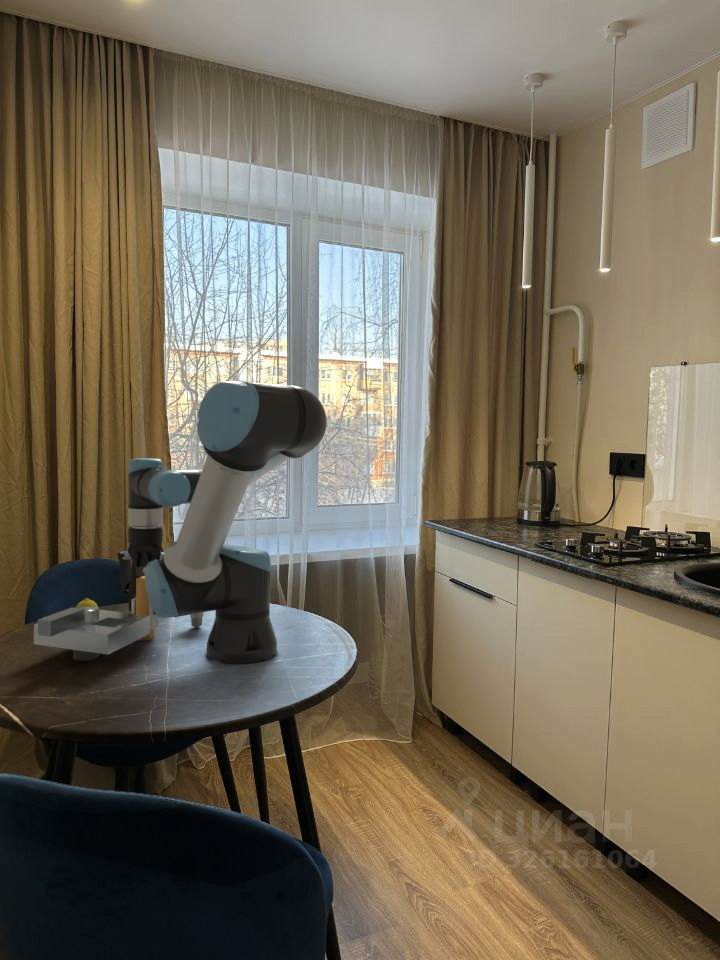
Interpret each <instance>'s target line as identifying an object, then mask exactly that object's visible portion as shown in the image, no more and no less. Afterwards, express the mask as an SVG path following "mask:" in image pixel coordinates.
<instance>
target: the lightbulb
mask: <svg viewBox="0 0 720 960" xmlns="http://www.w3.org/2000/svg"><path fill="white" fill-rule="evenodd" d="M204 613H205V612H202V613H196V614H191V615H189V617H190V624H191V626H192V627H193V628H194V629H199V628H200V627H201V626H203V625H202V624H203V618H204Z"/></svg>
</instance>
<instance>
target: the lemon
mask: <svg viewBox="0 0 720 960" xmlns="http://www.w3.org/2000/svg"><path fill="white" fill-rule="evenodd" d="M81 607H97V608H99V606H98V604H97V602H95V601H94V600H92V599H89V598H88V597H87V598H84V599H83V600H82V601H79V602H78V603H77V605H76V606H75V608H81Z"/></svg>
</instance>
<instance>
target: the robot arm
mask: <svg viewBox="0 0 720 960" xmlns="http://www.w3.org/2000/svg"><path fill="white" fill-rule="evenodd" d="M326 413H327V412H326V410H325V409H324V405H323V403H322V402H321V401H320V400H319V398H318V397H317V396H316V395H315V393H313V392H311V391H310V390H308V389H306V388H304V387H300V386H296V385H290V384H287V385H286V384H273V383H272V384H269V383H259V382H258V383H256V382H249V381H247V380H235V381H221V382H218V383H216V384H214V385H212V386H211V387H210V388H209V389H208V390H207V391H206V393H205V394H204V396H203V397H202V400H201V402H200V405H199V408H198V412H197V418H198V422H196V423H197V424H196V426H197V427H196V431H197V435H198V438H199V442H200V443H201V444H202V448H203V451H204V452H205V455H207V456H206V459H205V462H204V463H203V467H202V469H200V468H199V469H196V468H195V469H165V468H164V461H163V460H162V459H160V458H156V457H155V458H153V457H141V458H140V457H138V458H136V457H135V458H132V459H130V460H129V463H128V472H127V479H128V480H127V481H128V483H127V485H128V487H127V489H128V490H127V492H128V493H127V494H128V497H127V499H128V503H127V504H128V509H127V511H128V512H127V524H128V525H129V528H127V542H128V543H129V545H128V547H127V550H125V551H120V552H117V554H116V555H117V558H118V562H119V582H120V583H119V584H120V586H119V587H120V595H122V596H125V597H127V598H128V613H131V614H136V578H138V577H141V576H142V575H143V572H144V576H145V586H146V592H147V596H148V600H149V616H150V630H153V629H154V630H155V629H156V628H159V627H160V622H159V621H160V618H162V619H170V618H178V617H184V616H190V615H191V614H196V613H202V612H204V613H206V612H213V611H215V617H214V622H213V623H212V627H211V630H210V633H209V635H208V639H207V642H206V655H207V657H208V658H210V659H211V660H214V661H216V662H220V663H227V664H251V663H250V662H253V663H257V661H258V662H262V660H263V661H265V659H266V660H268V659H267V658H269V657H271V656H272V657H274V656H275V655H276V654H277V652H278V640H277V637H276V634H275V633H276V632H275V630H274V627H273V623H272V621H271V616H270V614H271V613H270V611H271V610H270V609H271V608H270V606H271V601H270V600H271V573H272V568H271V567H272V565H271V556H270V554H269V553H268V552H267V551H266V550H263V549H260V548H256V547H251V546H245V545H244V546H243V545H235V544H234V545H233V544H225V541H226V540H227V537H228V535H229V533H230V530H231V527H232V524H233V522H234V520H235V517H236V516H237V513H238V511H239V507H240V506H241V503H242V500H243V497H244V496H245V493H246V491H247V488H248V486H249V485H251V484H252V483H254V482H255V481H257V480H258V479H260V478H261V477H263V476H264V475H266V474H267V473H269V472H270V471H272V470H274V469H275V468H277V467H279V466H280V465H281V464H283V463H285V462H287V460H289V459H300V458H302V457H303V456H305V455H306V454H308V453H310V452H311V451H312V450H314V449H315V448H316V447H317V446H318V445H319V444H320V443H321V442H322V440H323V438H324V436H325V434H326V431H327V422H328V419H327V414H326ZM184 504H185V505H188V504H189V506H188V509H187V511H186V514H185V517H184V520H183V522H182V525H181V528H180V530H179V533H178V537H177V538H176V540H175V541H173V542H172V543H171V542H170V544H169V545H168V546H166V548H165V550H164V548H163V547H162V545H163V540H164V538H163V537H164V534H163V533H164V528H163V527H162V526H161V525H163V523H164V521H163V520H164V515H163V514H164V507H166V508H167V507H171V508H172V507H178V506H180V505H184ZM131 560H132V561H131ZM143 570H144V571H143ZM275 653H276V654H275ZM274 654H275V655H274ZM273 655H274V656H273ZM272 657H271V658H272ZM269 659H270V658H269Z"/></svg>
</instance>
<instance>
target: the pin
mask: <svg viewBox="0 0 720 960" xmlns="http://www.w3.org/2000/svg"><path fill="white" fill-rule="evenodd" d="M136 614H139V615H148V616H149V600H148V596H147V592H146V586H145V575H143V576H141V577H138V578H136ZM153 639H155V629H153V630H150V634H148V635H146V636H144V637H142V638H140V639H138V640H137V641H141V642H142V641H151V640H153Z"/></svg>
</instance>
